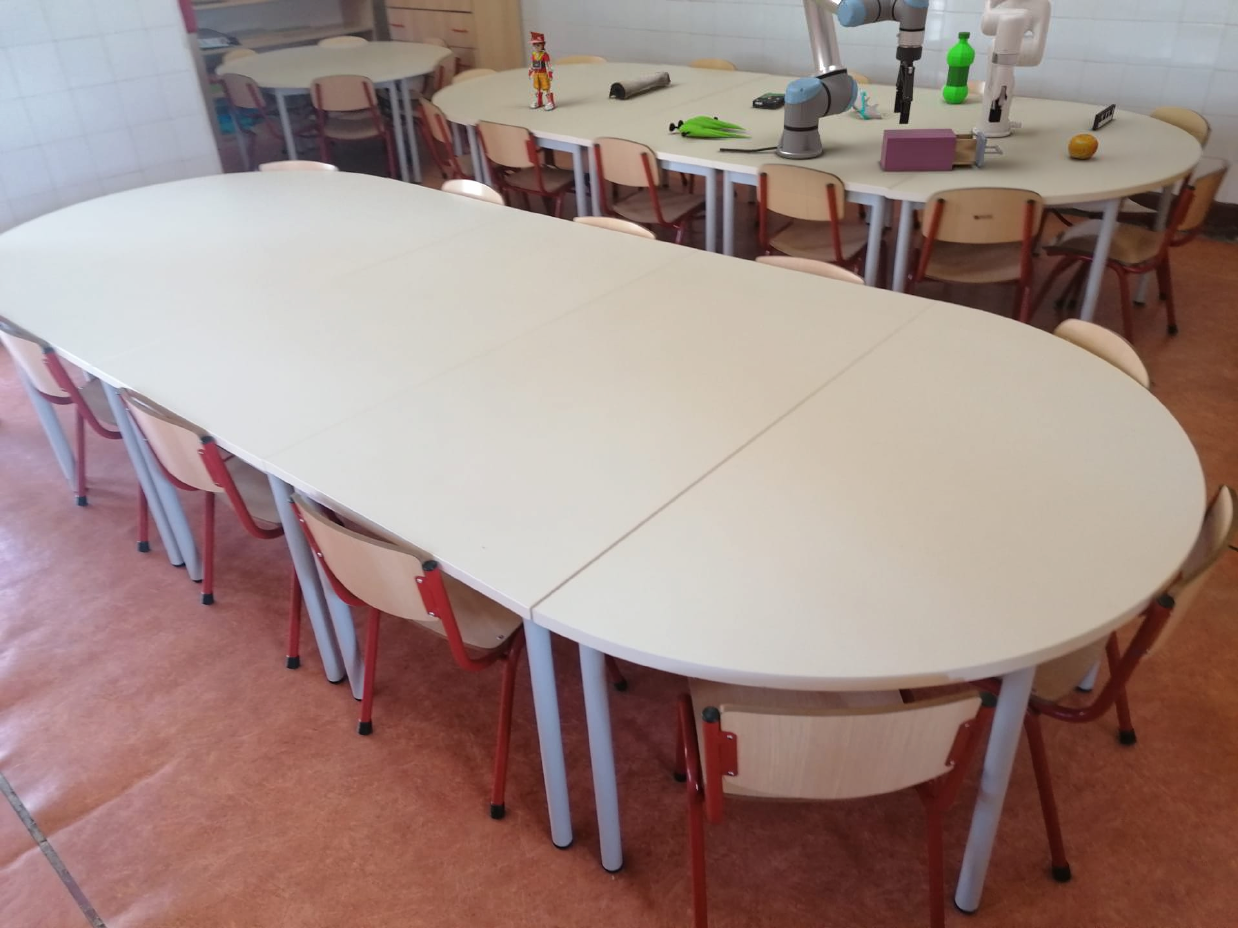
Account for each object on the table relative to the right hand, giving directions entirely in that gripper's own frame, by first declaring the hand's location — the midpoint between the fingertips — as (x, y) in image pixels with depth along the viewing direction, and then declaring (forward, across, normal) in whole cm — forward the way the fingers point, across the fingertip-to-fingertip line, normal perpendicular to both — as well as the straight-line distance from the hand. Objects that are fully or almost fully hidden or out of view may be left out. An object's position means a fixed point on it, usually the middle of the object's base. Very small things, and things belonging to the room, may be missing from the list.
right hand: (993, 121), depth 281 cm
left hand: (-2, 0, -28) cm, 29 cm away
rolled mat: (+13, -114, -124) cm, 169 cm away
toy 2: (+13, -43, -90) cm, 100 cm away
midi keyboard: (+13, -45, +48) cm, 68 cm away
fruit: (+13, -6, +30) cm, 34 cm away
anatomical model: (+13, -66, -32) cm, 75 cm away
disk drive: (+13, -86, -68) cm, 110 cm away
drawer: (+12, 0, -9) cm, 15 cm away
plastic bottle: (+13, -83, +4) cm, 84 cm away
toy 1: (+13, -90, -164) cm, 187 cm away
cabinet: (+13, 0, -22) cm, 26 cm away
